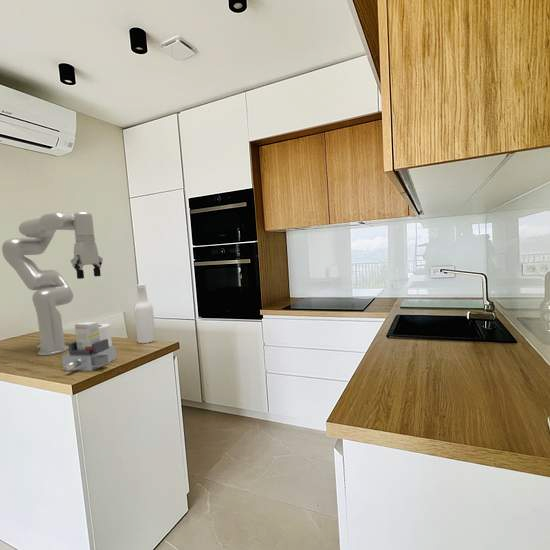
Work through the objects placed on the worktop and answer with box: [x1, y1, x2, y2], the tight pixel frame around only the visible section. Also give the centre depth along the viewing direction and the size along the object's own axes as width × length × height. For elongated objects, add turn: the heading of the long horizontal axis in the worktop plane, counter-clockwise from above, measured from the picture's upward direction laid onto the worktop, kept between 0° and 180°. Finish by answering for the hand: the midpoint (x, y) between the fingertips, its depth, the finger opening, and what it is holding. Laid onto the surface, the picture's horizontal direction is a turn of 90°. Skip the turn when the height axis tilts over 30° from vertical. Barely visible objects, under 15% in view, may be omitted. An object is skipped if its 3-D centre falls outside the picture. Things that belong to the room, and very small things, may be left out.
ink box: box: [74, 321, 100, 352], centre depth 138 cm, size 9×5×12 cm, turn 68°
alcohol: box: [134, 283, 157, 344], centre depth 168 cm, size 9×9×30 cm
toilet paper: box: [98, 323, 113, 346], centre depth 158 cm, size 10×10×12 cm
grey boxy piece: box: [61, 339, 118, 372], centre depth 136 cm, size 18×18×10 cm
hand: (89, 277), depth 150 cm, fingers open, 9 cm apart
